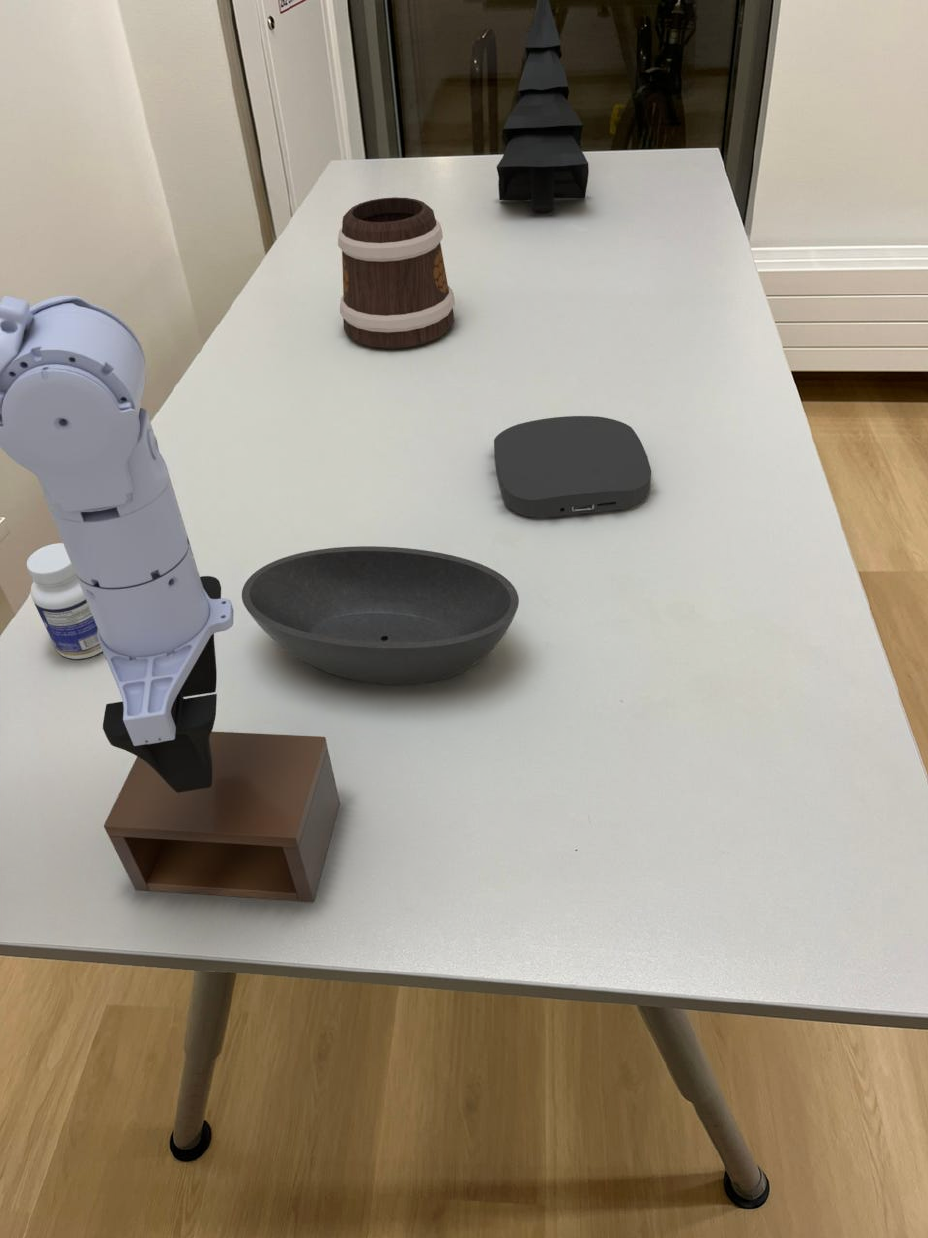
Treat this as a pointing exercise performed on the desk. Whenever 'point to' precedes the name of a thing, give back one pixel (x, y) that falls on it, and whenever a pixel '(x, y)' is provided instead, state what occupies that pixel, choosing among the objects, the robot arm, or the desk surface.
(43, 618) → the pill bottle
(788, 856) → the desk surface
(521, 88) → the decorative tree
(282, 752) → the shelf
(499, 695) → the desk surface
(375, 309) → the mug
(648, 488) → the media streaming box
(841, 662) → the desk surface
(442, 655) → the bowl
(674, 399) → the desk surface
